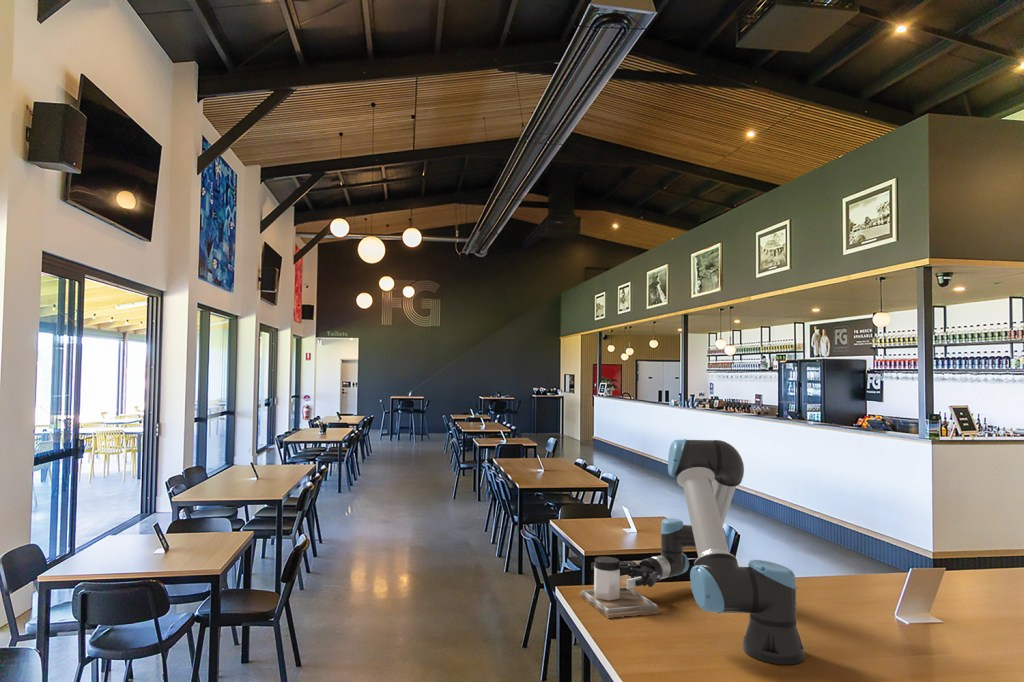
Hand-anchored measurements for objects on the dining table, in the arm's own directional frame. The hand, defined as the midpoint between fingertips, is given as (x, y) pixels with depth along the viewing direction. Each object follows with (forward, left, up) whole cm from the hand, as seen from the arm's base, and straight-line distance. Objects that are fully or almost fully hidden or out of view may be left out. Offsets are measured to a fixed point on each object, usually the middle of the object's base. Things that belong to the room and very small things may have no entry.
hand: (611, 579), depth 200 cm
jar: (+6, -1, -8) cm, 9 cm away
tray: (+1, -3, -9) cm, 9 cm away
